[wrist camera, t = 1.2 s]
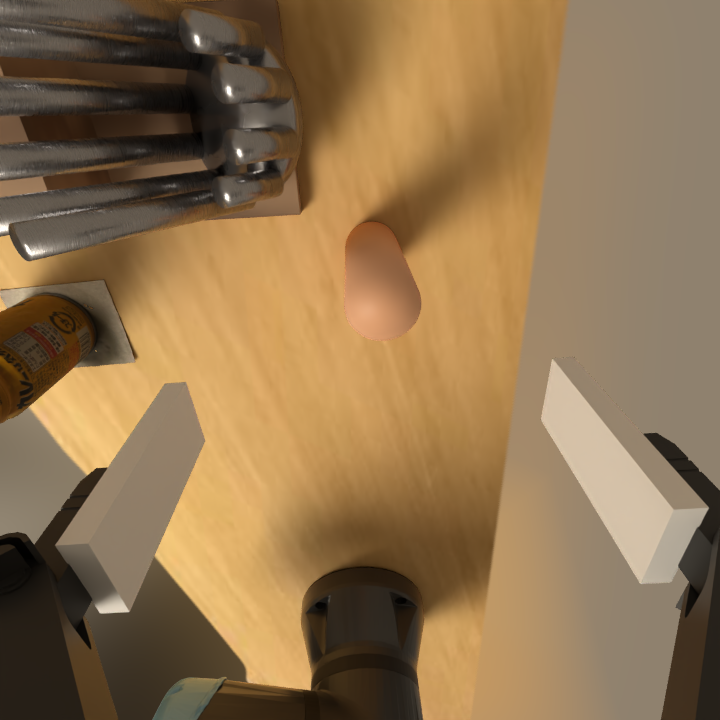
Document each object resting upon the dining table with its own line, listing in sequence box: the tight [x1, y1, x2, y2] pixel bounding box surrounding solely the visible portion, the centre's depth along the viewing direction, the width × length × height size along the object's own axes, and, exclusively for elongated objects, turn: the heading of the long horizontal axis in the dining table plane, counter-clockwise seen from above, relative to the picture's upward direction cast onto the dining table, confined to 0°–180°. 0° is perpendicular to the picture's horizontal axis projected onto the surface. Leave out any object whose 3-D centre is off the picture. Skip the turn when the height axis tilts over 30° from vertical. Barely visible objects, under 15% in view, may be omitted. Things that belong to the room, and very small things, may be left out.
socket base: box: [0, 0, 302, 220], centre depth 25 cm, size 12×16×8 cm
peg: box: [344, 222, 421, 341], centre depth 28 cm, size 4×4×12 cm
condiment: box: [0, 280, 135, 423], centre depth 30 cm, size 7×8×12 cm
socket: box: [0, 0, 303, 261], centre depth 22 cm, size 10×16×15 cm, turn 93°
